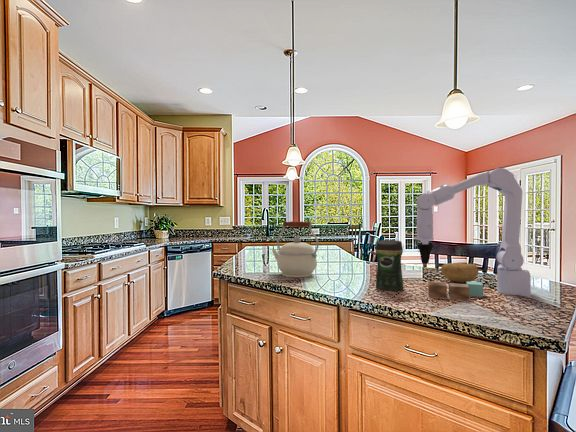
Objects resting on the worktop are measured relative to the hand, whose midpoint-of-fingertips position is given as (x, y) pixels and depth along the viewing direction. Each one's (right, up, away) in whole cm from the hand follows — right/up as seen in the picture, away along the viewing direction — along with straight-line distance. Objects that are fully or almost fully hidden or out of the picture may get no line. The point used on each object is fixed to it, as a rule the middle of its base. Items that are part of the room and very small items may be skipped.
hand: (424, 262), depth 130 cm
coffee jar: (-14, -10, -2) cm, 18 cm away
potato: (+19, -10, +12) cm, 25 cm away
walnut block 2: (+5, -9, -16) cm, 20 cm away
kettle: (-49, -10, +31) cm, 59 cm away
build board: (+4, -10, -15) cm, 18 cm away
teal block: (+12, -10, -13) cm, 20 cm away
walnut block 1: (-1, -9, -14) cm, 17 cm away
